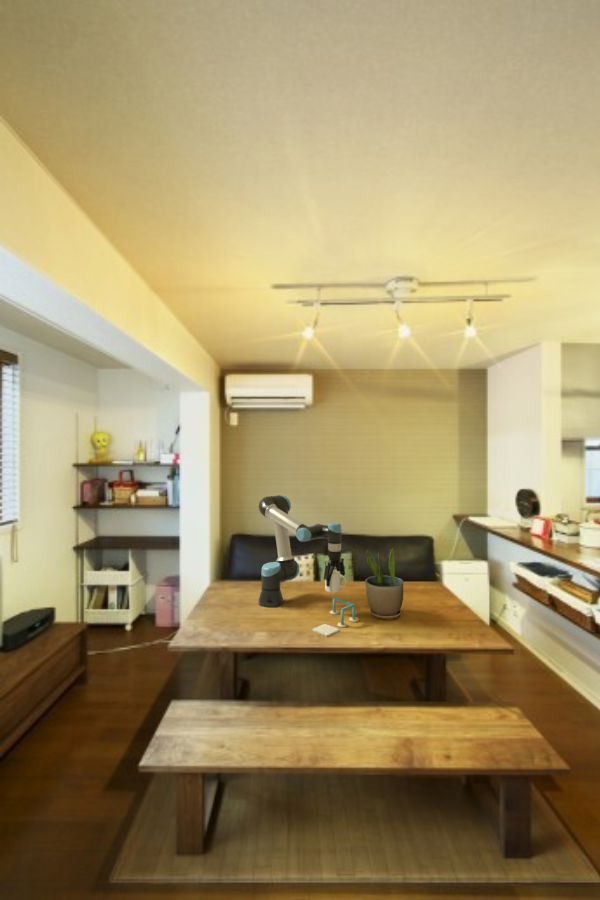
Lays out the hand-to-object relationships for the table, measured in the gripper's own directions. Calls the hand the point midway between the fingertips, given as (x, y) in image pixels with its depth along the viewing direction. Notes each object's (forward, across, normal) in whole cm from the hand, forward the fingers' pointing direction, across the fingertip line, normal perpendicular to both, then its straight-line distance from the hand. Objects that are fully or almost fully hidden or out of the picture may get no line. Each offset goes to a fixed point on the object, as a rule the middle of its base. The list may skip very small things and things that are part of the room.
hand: (334, 589), depth 232 cm
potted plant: (+14, +19, -21) cm, 31 cm away
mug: (+1, +1, 0) cm, 1 cm away
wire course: (+13, -5, -7) cm, 16 cm away
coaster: (+13, -21, -12) cm, 28 cm away
